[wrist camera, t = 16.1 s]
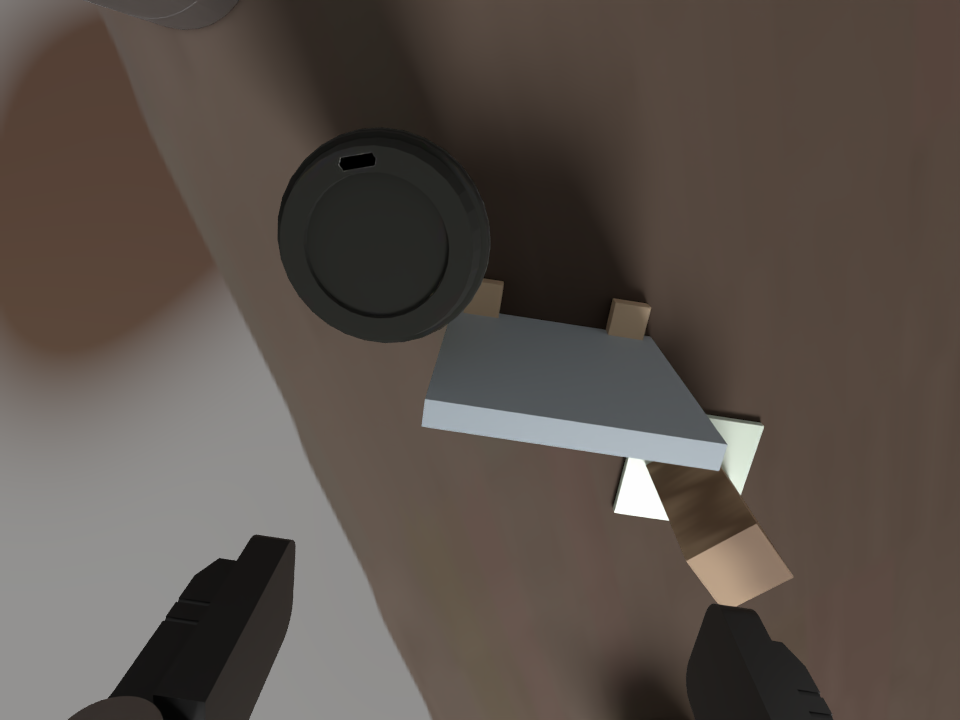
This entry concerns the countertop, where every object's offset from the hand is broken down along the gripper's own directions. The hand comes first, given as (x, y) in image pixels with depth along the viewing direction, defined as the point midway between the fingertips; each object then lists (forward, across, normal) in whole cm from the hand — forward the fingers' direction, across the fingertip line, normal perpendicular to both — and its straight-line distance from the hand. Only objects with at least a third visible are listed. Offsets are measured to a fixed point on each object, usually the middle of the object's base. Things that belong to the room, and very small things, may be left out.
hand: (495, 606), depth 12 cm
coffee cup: (+32, +6, -3) cm, 33 cm away
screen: (+32, -4, +4) cm, 33 cm away
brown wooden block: (+31, -16, +13) cm, 38 cm away
